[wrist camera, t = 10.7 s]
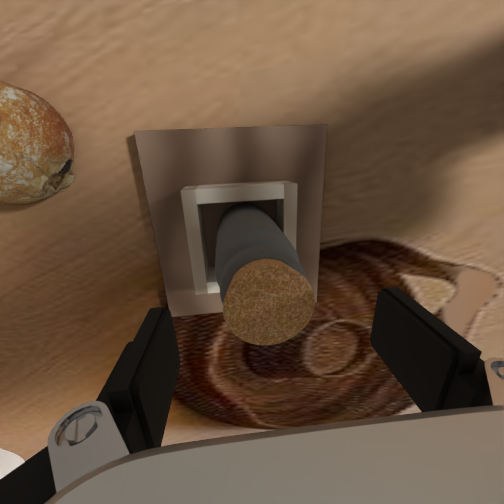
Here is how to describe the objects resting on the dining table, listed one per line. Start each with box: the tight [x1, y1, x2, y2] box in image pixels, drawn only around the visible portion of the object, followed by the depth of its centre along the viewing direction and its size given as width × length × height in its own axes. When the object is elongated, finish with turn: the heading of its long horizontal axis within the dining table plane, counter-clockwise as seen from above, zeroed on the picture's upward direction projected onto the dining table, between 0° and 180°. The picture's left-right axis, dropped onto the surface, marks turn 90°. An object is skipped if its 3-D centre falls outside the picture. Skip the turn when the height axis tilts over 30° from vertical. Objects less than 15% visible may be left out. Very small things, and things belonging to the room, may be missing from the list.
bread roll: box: [0, 81, 74, 205], centre depth 20 cm, size 10×10×8 cm
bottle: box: [215, 203, 315, 345], centre depth 19 cm, size 6×6×15 cm
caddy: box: [134, 124, 327, 317], centre depth 25 cm, size 18×20×5 cm
